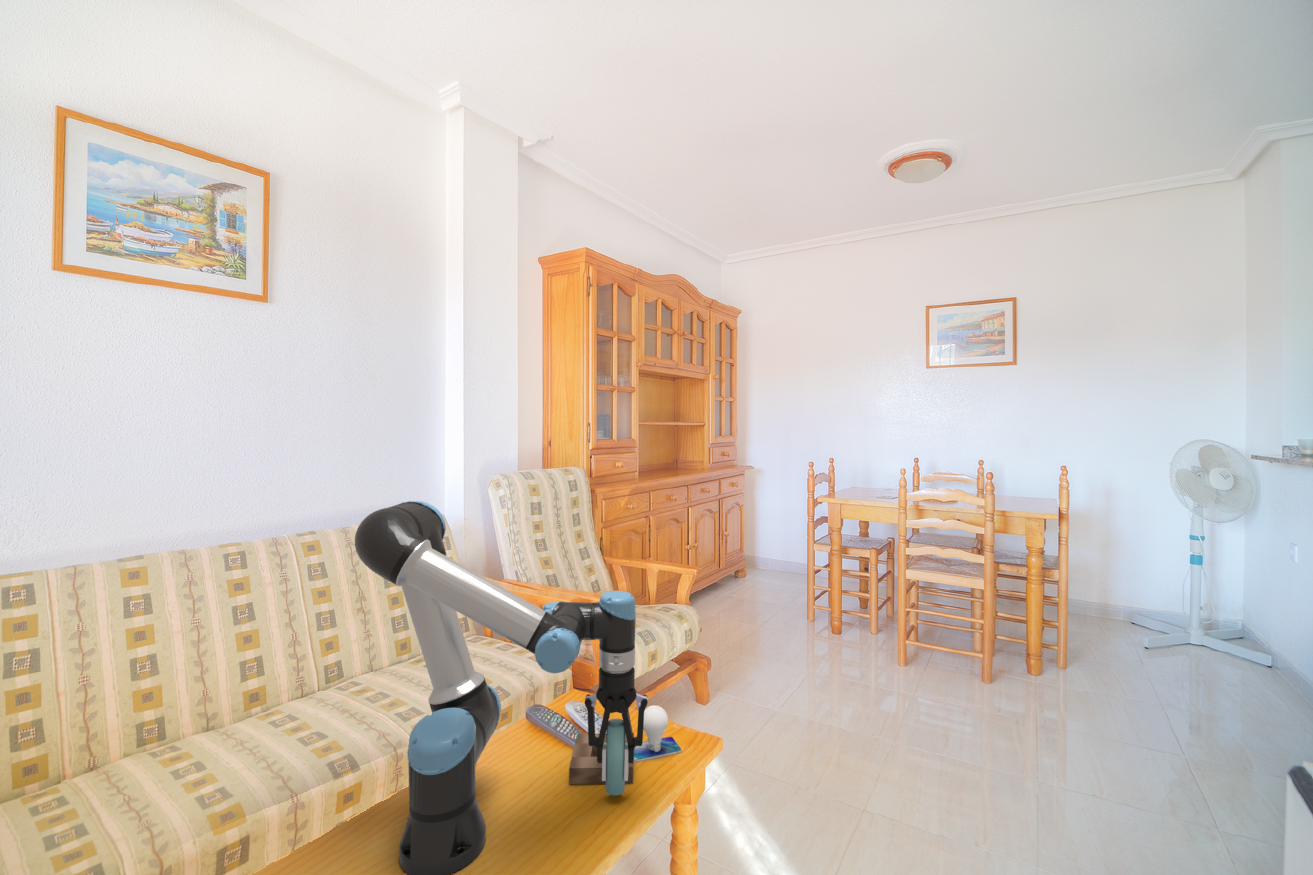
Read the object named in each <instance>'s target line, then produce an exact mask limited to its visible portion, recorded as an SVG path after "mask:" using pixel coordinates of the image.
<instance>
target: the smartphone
mask: <svg viewBox="0 0 1313 875" xmlns="http://www.w3.org/2000/svg"><path fill="white" fill-rule="evenodd" d="M660 744H661V749H660V751H658V752H656V753H654V752H651V751H650V750H649V742H648V740H646V741H643V743H642V746H636V747H635V748H634V764H636V763H640V762H644V761H650V760H654V759H659V758H663V757H668V756H673V755H678V754H681V753H682V751H683V749H682V748H681V747H680V745H679V744H678V743H677V741H676V740H675V738H674V737H673V736H666V737H662V740H661V743H660Z"/></svg>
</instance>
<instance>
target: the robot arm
mask: <svg viewBox="0 0 1313 875" xmlns="http://www.w3.org/2000/svg"><path fill="white" fill-rule="evenodd" d="M446 530H447V527H446V521H445V518H444V516H443V514H442V512H440V510H439V509H438V508H437V507H436V506H435V505H432V504H430V503H428V502H425V501H421V500H415V501H414V500H413V501H411V500H409V501H405V502H401V503H398V504H395V505H392V506H388V507H384V508H381V509H378V510H375V511H373V512H372V513H369V514H368V515H367V516H366V517H365V518H364V519H363V520H362V521H361V522H360V524H359V525H358V527H357V529H356V532H355V535H354V547H355V552H356V554H357V556H358V558H359V559H360V561H361V562H362V563H363V564H364V565H365V566H366V567H367V568H368V569H369V570H371V571H372V572H373V573H375V575H378V576H380V577H381V578H383V579H385V580H386V581H389V583H392V584H393V585H395V586H397V587H401V590H402V592H403V595H404V600H405V602H406V605H407V608H408V611H409V615H410V618H411V621H412V624H413V628H414V631H415V634H416V637H417V641H418V644H419V647H420V650H421V654H422V657H423V660H424V663H425V667H426V669H427V673H428V675H429V679H430V682H431V685H432V690H431V693H430V696H429V697H428V704H429V707H430V709H431V710H430V711H431V714H427V715H425V716H424V717H422V718H421V719H420V720H419V721H418V722H417V723H415V725H414V726H413V728H412V730H411V732H410V735H409V739H408V748H407V760H408V762H407V763H408V798H409V799H408V805H409V808H408V810H409V811H408V812H409V813H408V816H407V820H406V822H405V825H404V830H403V832H402V836H401V837H400V842H399V846H398V849H399V850H398V855H399V856H398V857H399V858H398V859H399V860H398V862H399V865H400V867H401V870H403V871H404V872H405V873H406V874H407V875H452V874H453V873H455V872H457V871H460V870H462V869H464V868H465V867H466V866H468V865H470V863H472V862H473V861H474V860H475V859H476V858H477V857H478V856H479V855H480V853H481V852H482V851H483V848H484V847H485V844H486V840H487V839H486V836H487V835H486V834H487V833H486V832H487V831H486V822H485V819H484V816H483V814H482V810H481V808H480V805H479V803H478V800H477V796H476V787H477V786H476V781H477V780H476V767H477V763H478V761H479V759H480V757H481V755H482V753H483V751H484V749H485V747H486V746H487V744H488V742H489V740H490V739H491V737H492V736H493V734H494V732H495V730H496V728H497V727H498V723H499V720H500V717H501V712H502V711H501V710H502V704H501V698H500V697H499V694H498V692H497V691H496V689H495V688H494V687H493V686H492V685H489V684H488V683H487V682H486V681H487V680H486V678H485V675H484V674H483V673H481V672H478V671H476V670H475V668H474V665H473V661H472V659H471V655H470V653H469V648H468V645H467V642H466V639H465V636H464V632H463V629H462V627H461V623H460V619H459V617H458V613H459V614H461V615H463V616H465V617H466V618H468V619H471V620H472V621H473V622H476V623H478V624H479V625H481V626H482V627H485V628H487V629H489V630H490V631H492V632H494V633H495V634H498V635H499V636H502V637H503V638H505V639H506V640H509V641H510V642H512V643H514V644H516V645H517V646H519V647H521V648H523V649H524V650H527V651H528V652H530V653H531V654H534V657H535V661H536V663H537V664H538V666H539V667H540V668H541V670H543V671H545V672H546V673H551V674H559V673H563V672H566V671H568V669H569V668H570V667H571V666H572V665H573V664H574V662H575V661H576V659H577V657H578V656H579V654H580V649H581V645H582V642H583V641H595V640H597V641H599V645H598V646H599V649H598V650H599V652H598V659H599V660H598V665H599V668H598V688H597V691H596V693H594V694H590V693H588V694H586V695H585V697H584V705H585V707H586V710H587V734H588V744H589V746H595V747H596V748H597V762H598V763H602V781H606V743H604V739H605V734H606V731H607V725H608V721H609V720H610V717H611V716H610V714H614V713H618V714H621V719H622V720H623V722H624V728H625V733H626V738H627V743H625V764H624V781H628V763H633V761H634V748H635V747H636V746H642V743H643V742H644V739H643V738H644V730H643V725H644V711H645V709H646V708H647V707H648V706H647V705H648V699H649V698H648V695H647V694H643V695H642V694H639V693H637V689H636V687H635V678H636V677H635V672H636V670H635V664H636V663H635V662H636V657H635V656H636V645H635V644H636V620H637V618H636V616H637V614H636V600H635V599H636V598H635V597H634V595H633V594H632V593H630V592H628V591H625V590H613V591H606V592H603V593H602V594H601V595H600V597H599V600H598V601H597V602H585V601H584V602H577V601H576V602H573V601H562V600H561V601H560V600H559V601H554V602H553V601H552V602H547V603H545V604H544V606H543V608H541V607H539V606H537V605H535V604H534V603H532V602H530V601H528V600H526V599H524V598H522V597H521V596H520V595H517V594H515V593H513V592H511V591H510V590H508V589H507V588H504V587H503V586H501V585H500V584H497V583H495V582H494V581H492V580H490V579H488V578H486V577H485V576H483V575H481V574H479V573H477V572H475V571H473V570H472V569H470V568H468V567H467V566H465V565H463V564H461V563H459V562H458V561H456V560H454V559H452V558H450V557H448V555H447V551H446V548H445V545H444V542H443V540H444V538H445V534H446ZM597 701H598V702H599V704H600V705H601V707H602V708H603V709H604V711H603V716H602V720H601V725H600V727H599V728H600V730H599V733H598V734H599V738H598V737H595V734H596V718H595V717H596V714H595V713H596V711H595V710H596V708H595V707H596V705H597ZM635 701H636V706H637V707H638V712H637V713H638V714H637V715H638V716H637V730H636V736H634V737H633V733H634V732H633V727H632V722H631V716H630V711H629V710H630V709H629V708H630V707H631V706H632V704H633V703H634V702H635Z"/></svg>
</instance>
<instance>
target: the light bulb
mask: <svg viewBox="0 0 1313 875" xmlns="http://www.w3.org/2000/svg"><path fill="white" fill-rule="evenodd" d="M668 725H669V717H668V714H667V712H666V710H665V709H664V708H663V707H661V706H659V705H657V704H655V705H649V706H646V708H645V711H644V725H643V732H644V733H645V736H646V737H647V741H648V742H649V750H650V751H651V752H654V753H656V752H658V751H660V749H661V744H660V743H661V740H662V738H663V735H664V733H665V731H666V729H667V727H668Z"/></svg>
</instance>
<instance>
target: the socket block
mask: <svg viewBox="0 0 1313 875" xmlns="http://www.w3.org/2000/svg"><path fill="white" fill-rule="evenodd" d="M595 737H598V738H599V733H595ZM633 737H635V733H634V732H633ZM604 743H606V734H605V739H604ZM625 743H627V738H626V733H625ZM571 754H572V755H571V759H570V763H569V768H568V770H569V772H568V777H569V778H568V782H569V783H568V785H606V781H602V763H598V762H597V748H596V747H595V746H589V744H588V733H577V734H576V737H575V741H574V746H573V750H572V753H571ZM634 764H635V763H634V761H633V763H628V781H625V784H634Z"/></svg>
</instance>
